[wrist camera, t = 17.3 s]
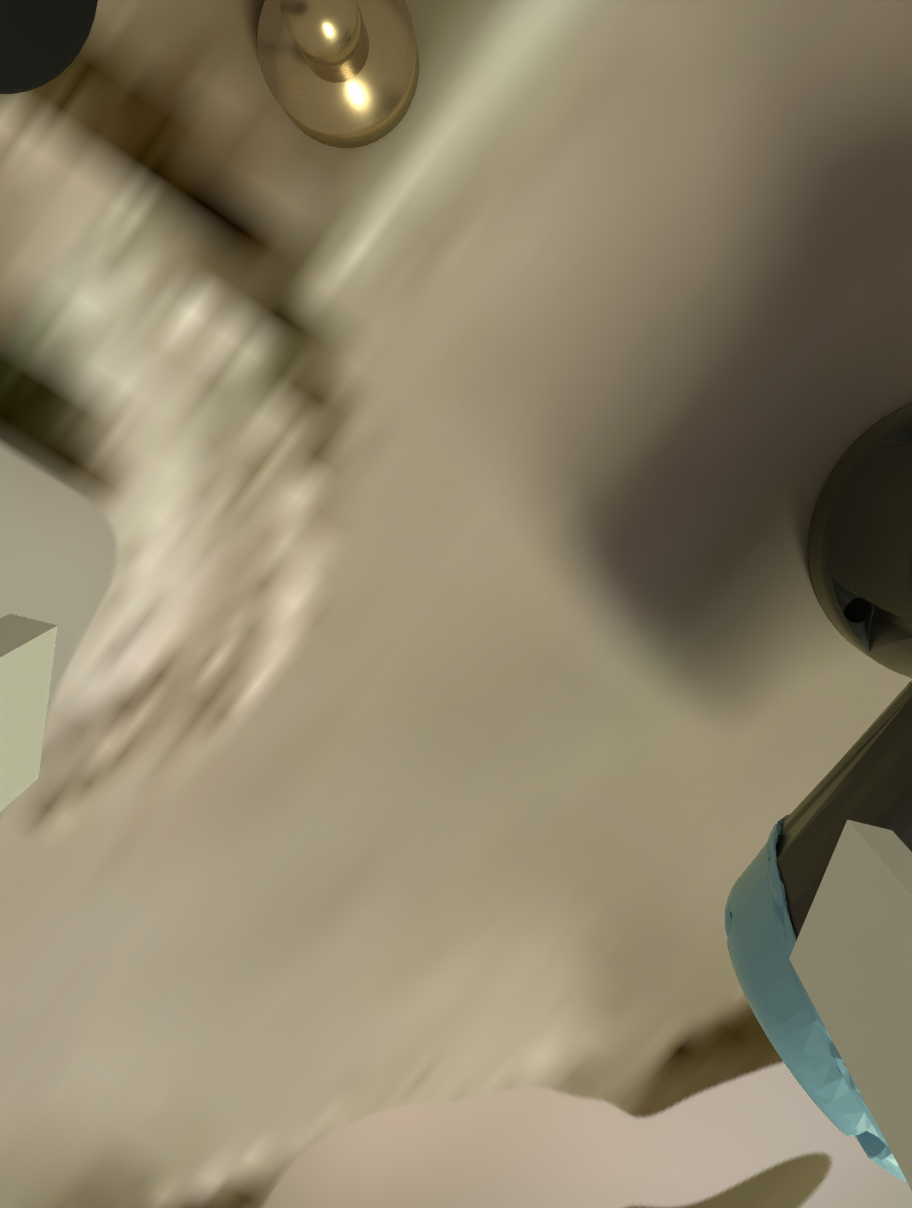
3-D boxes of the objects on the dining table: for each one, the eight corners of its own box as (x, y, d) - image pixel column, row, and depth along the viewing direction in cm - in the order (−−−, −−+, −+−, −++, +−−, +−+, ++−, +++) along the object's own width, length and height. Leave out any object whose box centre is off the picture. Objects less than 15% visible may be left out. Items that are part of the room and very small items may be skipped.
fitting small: (434, 2, 38) (423, -74, 32) (400, 164, 40) (383, 123, 33) (286, -38, 38) (246, -123, 31) (259, 127, 40) (216, 78, 33)
